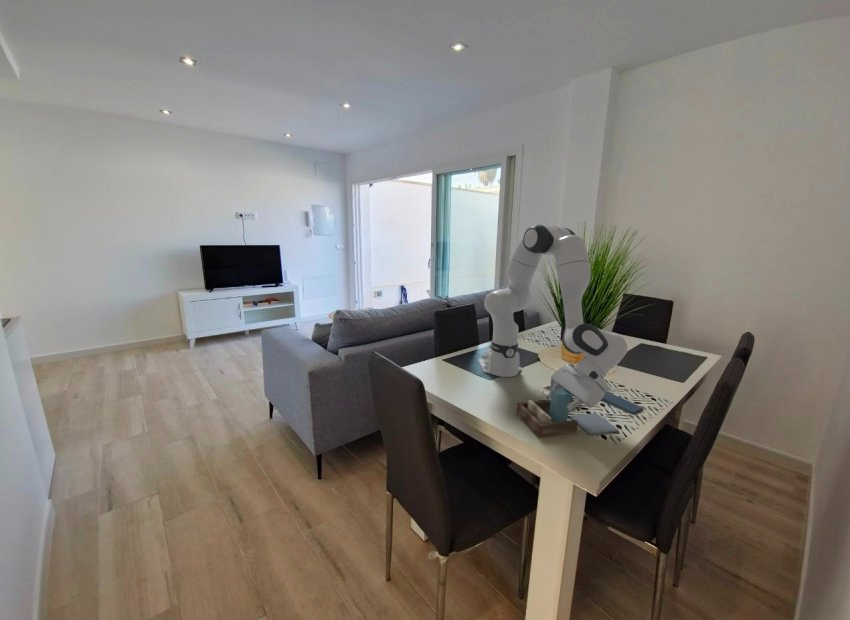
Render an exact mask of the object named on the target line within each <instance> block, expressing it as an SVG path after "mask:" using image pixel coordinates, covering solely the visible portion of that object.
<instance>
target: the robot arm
mask: <svg viewBox="0 0 850 620" xmlns="http://www.w3.org/2000/svg"><path fill="white" fill-rule="evenodd" d="M543 255H544V256H553V257H554V259H555V268H556V273H557V278H558V283H559V288H560V291H561V297H562V305H563V317H564V330H563V333H562V338H561V341H562V346H563V347H564V349H565V350H567V352H569V353H571V354H574V355H581V354H583V355H584V356H583V358H582V359H581V360H580V361H578V362H577V364H575V365H574V364H573V363H572V362H571V363H566V364H565V365H563V366H561V367H559V368H558V369H557V370H556V371H554V373H552V375H551V376H552V377H550V380H551V379H552V380H553V381H554V382H555V384H554V385H553V388H552V390H558V389H560V388H563V389H565V390H566V391H568V392H569V393H570V394H571V395H572V396H573V398H575V399H574V401H572V402H570V403H569V402H568V403H567V405H566V406H565V407H566V408H567V409H568V410H569V411H572V410H573V409H574V408H578V407H580V406H582V405H585V407H587V408H589V409H590V408H594V407H596V406H597V405H599V403H600V401H601V399H602V398H603V397H604V394H605V393H604V392H606V393H607V392H610V390H611V388H610V386H609V384H608V382H607V381H605V379H604V378H605V377H606V376H607V375H608V373H609V371H610V370H612V369H613V368H616V366H617V365H618V364H619V363H620V362H621V361H622V360H623V358H624V357H625V356H626V354H627V353H628V349H629V348H628V344H627V341H626V340H625V339H624V338H623V337H622V336H621V335H619V334H618V333H617V332H610V331H606V330H603V329H600V328H599V327H596V326H595V325H593V324H592V323H584V316H583V306H582V300H583V296H584V294H585V292H586V290H587V288H588V287H589V285H590V282H591V278H592V277H591V275H592V274H591V273H592V272H591V270H592V268H591V262H590V257H589V254H588V251H587V247H586V245H585V241H584V239H583V238H582V237H581V236H579V235H576V233H575V231H573V230H572V229H570V228H567V227H561V226H558V225H543V224H534V225H531V226H529V227H527V229H526V230H525V231H524V233H523V236H522V237H521V239H520V240H519V241H518V243H517V245H516V247H515V248H514V251H513V253H512V256H511V258H510V261H509V264H508V266H507V269H506V271H505V275H506V277H507V279H508V282H507V285H506V287H505V288H501V289H500V288H499V289H495V290H493V291H491V292H489V293H487V294H486V296H485V298H484V300H483V301H484V302H483V303H484V309H485V310H486V311H487V312H488V314H490V317H491V319H492V323H493V324H492V325H493V326H492V327H493V329H492V331H493V332H492V339H491V340H490V347H488V348H487V349H486V350H484V351H483V354H482V356H481V358H479V359H478V361H477V362H478V363H479V366H480V368H481V370H482V372H483V373H485V374H489V375H490V374H491V375H494V376H496V377H503V378H509V377H515V376H517V375H518V374H519V373H520V372H521V371H522V367H521V366H520V353H519V352H518V351H519V343H518V340H519V329H520V328H519V325H518V324H517V323H516V322H515V320H514V313H515V312H520V311H522V310H525V309H526V308H528V307H529V306H530V304H531V303H532V294H531V293H530V287H531V283H532V279H533V277H534V274H535V272H536V270H537V267H538V265H539V262H540V260H541V259H542V257H543ZM552 390H551V391H550V390H549V392H548V394H549V396H550V395H551V392H552Z"/></svg>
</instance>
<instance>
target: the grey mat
mask: <svg viewBox="0 0 850 620" xmlns="http://www.w3.org/2000/svg"><path fill="white" fill-rule="evenodd" d="M568 419H570V421H571V420H576V421H578V426H577V427H579V428H581V429H582V430H583V431H584V432H586V433H587V434H588V435H589V436H593V435H595V436H596V435H602V434H609V433H619V432H620V429H618V428H617V427H616V426H614V425H613V424H612V423H611V422H609V421H607V420H606V419H605V418H604V417H602V416H601V415H599V414H598V413H597V412H593V413H583V414H574V415H568Z"/></svg>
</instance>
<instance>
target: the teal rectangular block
mask: <svg viewBox="0 0 850 620" xmlns="http://www.w3.org/2000/svg"><path fill="white" fill-rule="evenodd" d="M570 397H571V394H570V393H569V392H568V391H566V390H565V389H561V390H552V392H551V396H550V399H549V400H550V409H549V412H548V415H549V416H550V417H551V418H552V419H551V423H553V422H562V421H569V420H568V419H569V411H570V410H568V409H567V408H566V407H565V406H566V405H567V403H568V402H569V403H571V398H570Z"/></svg>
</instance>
